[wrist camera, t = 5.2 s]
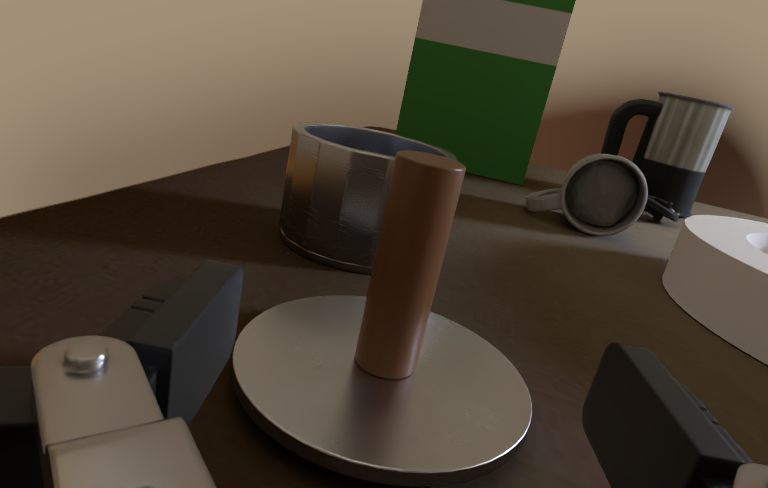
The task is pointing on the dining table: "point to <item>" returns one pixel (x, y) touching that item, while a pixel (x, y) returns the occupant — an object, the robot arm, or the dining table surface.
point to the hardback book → (483, 80)
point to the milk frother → (670, 147)
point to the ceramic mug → (597, 195)
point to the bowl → (340, 191)
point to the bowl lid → (387, 359)
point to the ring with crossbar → (723, 278)
